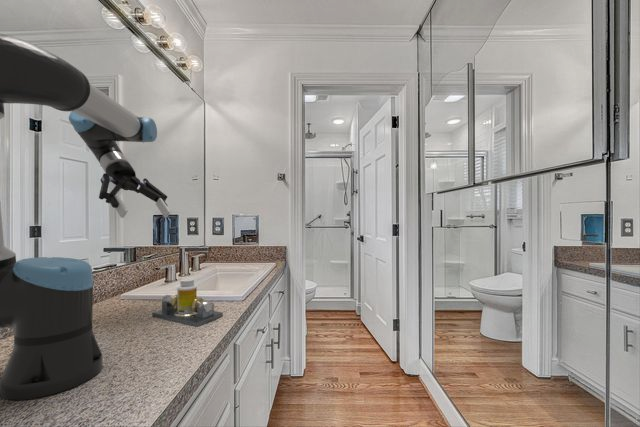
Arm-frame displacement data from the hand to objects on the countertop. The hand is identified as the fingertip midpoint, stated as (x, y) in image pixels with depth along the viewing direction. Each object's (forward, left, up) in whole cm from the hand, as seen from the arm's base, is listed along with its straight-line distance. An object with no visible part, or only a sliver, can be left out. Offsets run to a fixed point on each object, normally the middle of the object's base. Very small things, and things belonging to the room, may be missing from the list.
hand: (147, 214), depth 91 cm
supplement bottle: (+9, -7, -31) cm, 33 cm away
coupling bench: (+9, -7, -32) cm, 34 cm away
